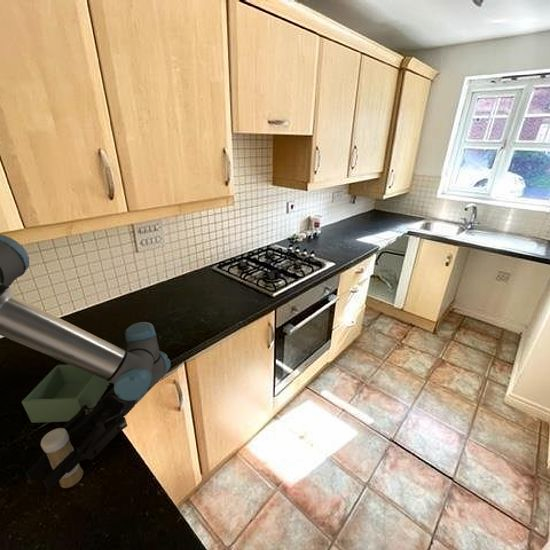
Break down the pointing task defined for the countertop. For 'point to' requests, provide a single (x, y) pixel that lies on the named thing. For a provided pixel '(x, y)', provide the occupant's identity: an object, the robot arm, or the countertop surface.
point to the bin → (63, 394)
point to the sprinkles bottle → (61, 454)
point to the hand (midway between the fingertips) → (37, 481)
